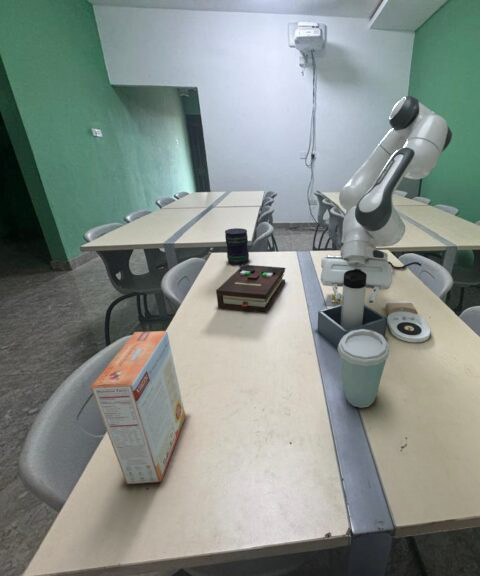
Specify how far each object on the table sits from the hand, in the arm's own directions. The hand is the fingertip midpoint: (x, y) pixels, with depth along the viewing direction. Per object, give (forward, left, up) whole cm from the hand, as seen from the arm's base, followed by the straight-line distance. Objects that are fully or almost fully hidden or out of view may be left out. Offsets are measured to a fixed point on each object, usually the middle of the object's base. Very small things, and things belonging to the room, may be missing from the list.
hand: (354, 301), depth 88 cm
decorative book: (+14, -41, -12) cm, 45 cm away
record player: (-19, +3, -12) cm, 23 cm away
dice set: (-10, -21, -12) cm, 26 cm away
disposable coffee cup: (+14, +20, -12) cm, 27 cm away
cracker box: (+54, +11, -12) cm, 56 cm away
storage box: (0, -1, -12) cm, 12 cm away
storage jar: (+7, -78, -12) cm, 79 cm away
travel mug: (0, -1, -12) cm, 12 cm away
